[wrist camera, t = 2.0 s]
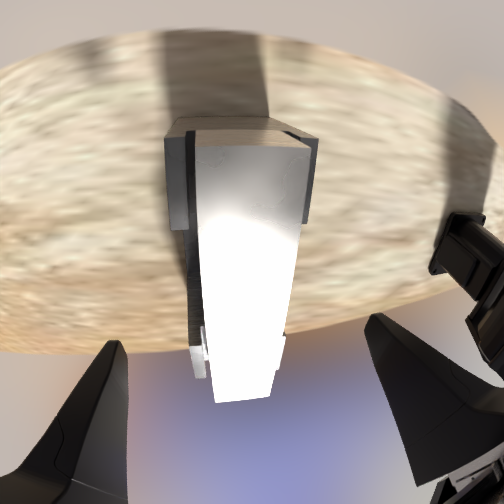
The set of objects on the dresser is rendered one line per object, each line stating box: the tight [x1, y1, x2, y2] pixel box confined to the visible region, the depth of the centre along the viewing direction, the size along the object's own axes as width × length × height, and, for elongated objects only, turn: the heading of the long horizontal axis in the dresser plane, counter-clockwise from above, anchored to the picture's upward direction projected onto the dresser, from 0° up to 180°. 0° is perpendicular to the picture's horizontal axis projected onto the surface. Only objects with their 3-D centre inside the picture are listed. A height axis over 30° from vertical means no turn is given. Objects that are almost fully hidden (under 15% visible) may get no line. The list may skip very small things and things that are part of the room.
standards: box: [164, 116, 319, 379], centre depth 13 cm, size 5×12×6 cm, turn 177°
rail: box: [195, 129, 311, 403], centre depth 11 cm, size 3×12×3 cm, turn 177°
